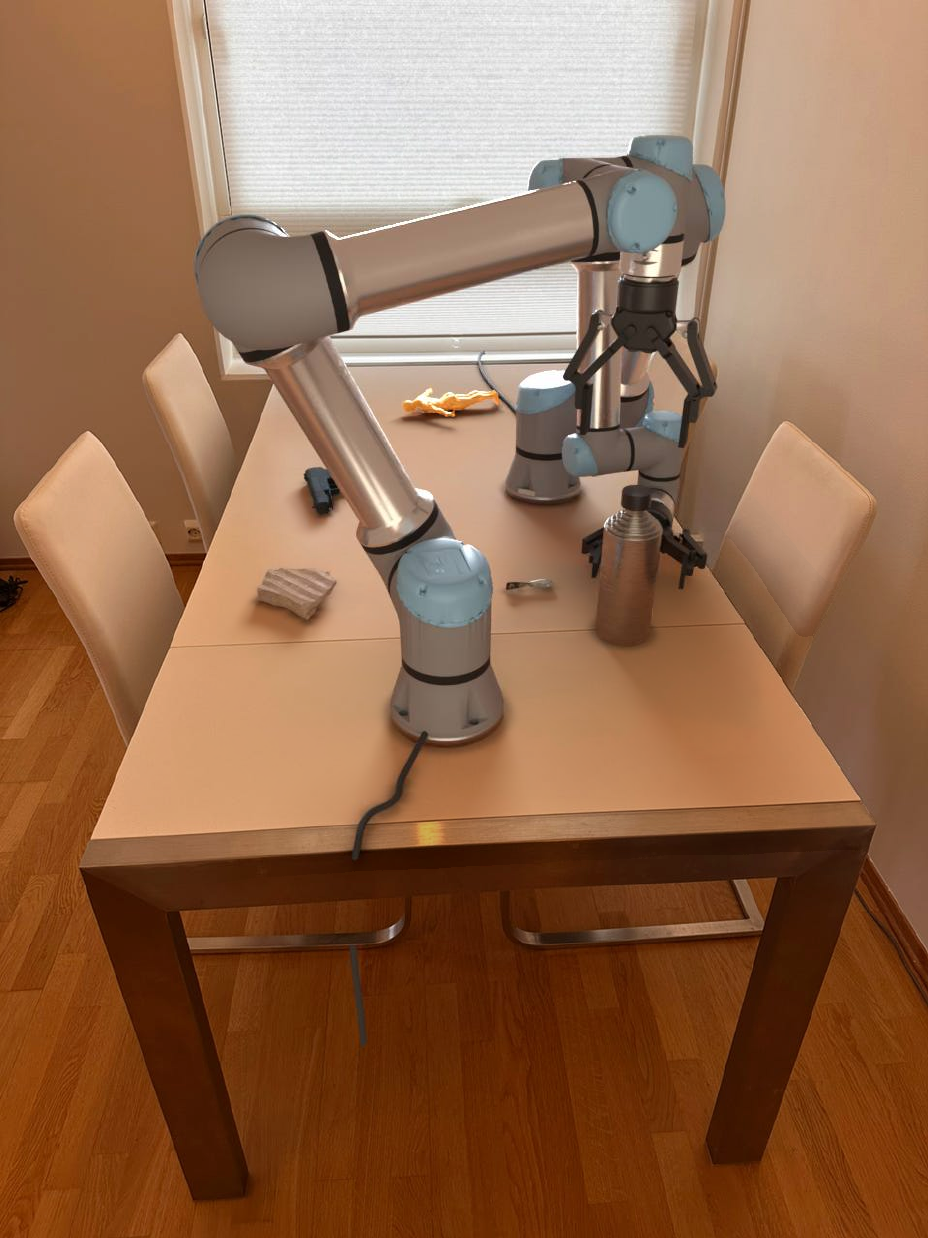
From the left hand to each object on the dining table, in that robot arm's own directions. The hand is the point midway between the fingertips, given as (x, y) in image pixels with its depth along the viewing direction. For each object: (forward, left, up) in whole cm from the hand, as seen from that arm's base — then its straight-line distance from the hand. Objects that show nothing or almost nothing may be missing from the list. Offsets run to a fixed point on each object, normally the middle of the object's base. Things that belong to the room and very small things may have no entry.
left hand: (632, 438), depth 123 cm
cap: (-1, -1, -8) cm, 8 cm away
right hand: (+5, -3, -24) cm, 25 cm away
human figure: (+94, +48, -31) cm, 110 cm away
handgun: (+39, +59, -31) cm, 77 cm away
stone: (-2, +52, -31) cm, 60 cm away
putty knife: (+9, +15, -31) cm, 35 cm away
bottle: (-1, -1, -31) cm, 31 cm away
